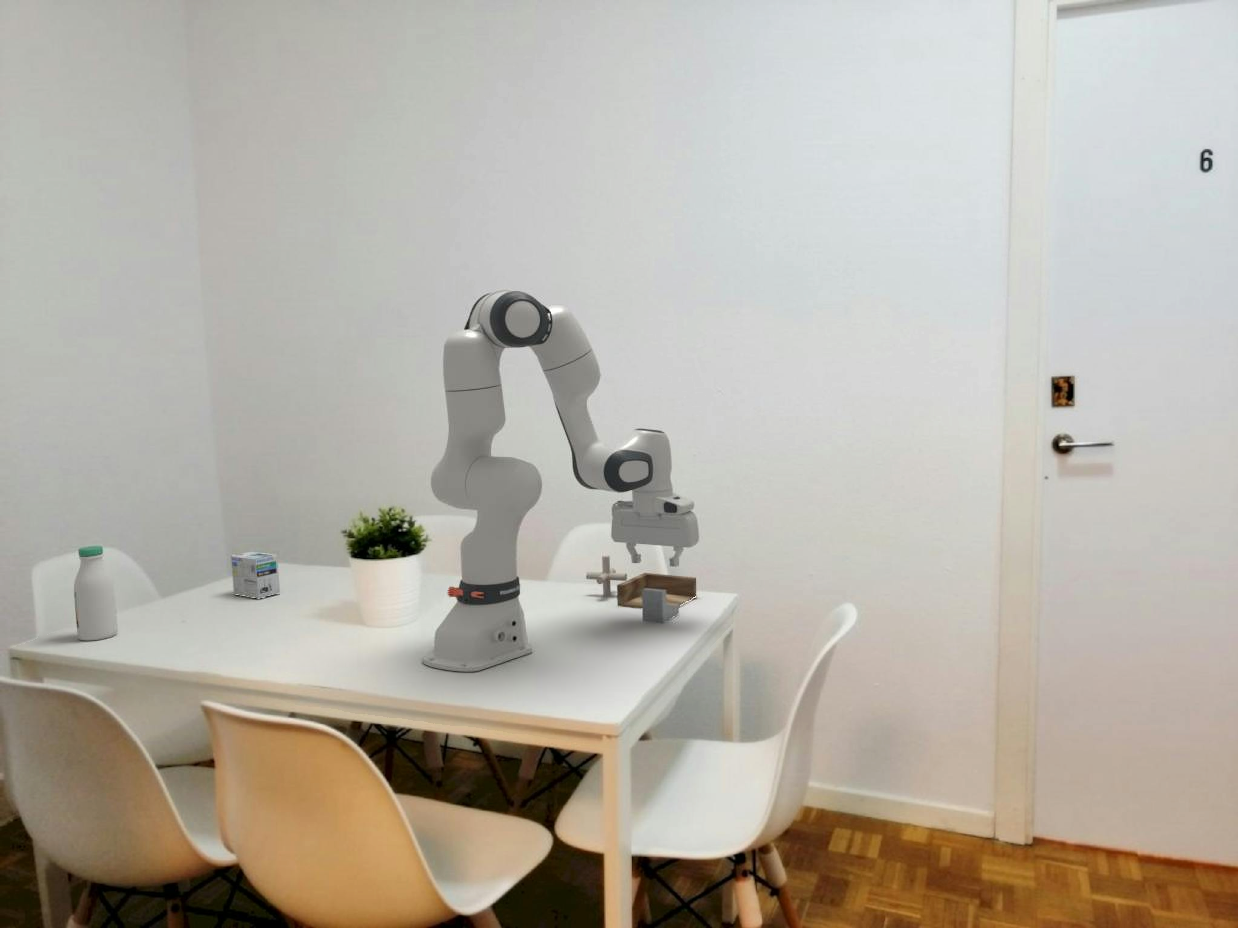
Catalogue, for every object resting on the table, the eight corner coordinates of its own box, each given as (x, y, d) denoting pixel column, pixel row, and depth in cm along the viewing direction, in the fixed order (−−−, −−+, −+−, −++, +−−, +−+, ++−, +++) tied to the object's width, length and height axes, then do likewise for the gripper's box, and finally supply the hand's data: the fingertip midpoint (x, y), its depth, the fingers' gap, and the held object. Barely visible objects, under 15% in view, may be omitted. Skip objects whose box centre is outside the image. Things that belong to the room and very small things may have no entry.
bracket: (662, 623, 198) (662, 591, 197) (642, 620, 200) (641, 589, 199) (678, 614, 205) (678, 584, 204) (659, 612, 207) (658, 582, 206)
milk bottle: (126, 632, 202) (118, 544, 200) (97, 642, 195) (89, 551, 193) (98, 630, 205) (90, 543, 203) (69, 640, 197) (61, 550, 195)
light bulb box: (281, 594, 235) (278, 553, 234) (258, 600, 229) (255, 558, 228) (255, 590, 240) (252, 550, 239) (232, 595, 235) (229, 555, 234)
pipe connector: (581, 600, 220) (579, 559, 219) (594, 590, 229) (593, 551, 228) (620, 602, 217) (619, 561, 216) (632, 592, 226) (631, 552, 225)
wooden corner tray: (670, 611, 207) (670, 590, 206) (617, 605, 214) (617, 584, 213) (696, 597, 219) (696, 577, 218) (645, 592, 226) (644, 572, 225)
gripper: (604, 502, 199) (607, 563, 201) (688, 506, 189) (690, 571, 191) (618, 497, 205) (621, 557, 207) (700, 501, 195) (702, 564, 196)
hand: (655, 564), depth 199 cm, fingers open, 8 cm apart
